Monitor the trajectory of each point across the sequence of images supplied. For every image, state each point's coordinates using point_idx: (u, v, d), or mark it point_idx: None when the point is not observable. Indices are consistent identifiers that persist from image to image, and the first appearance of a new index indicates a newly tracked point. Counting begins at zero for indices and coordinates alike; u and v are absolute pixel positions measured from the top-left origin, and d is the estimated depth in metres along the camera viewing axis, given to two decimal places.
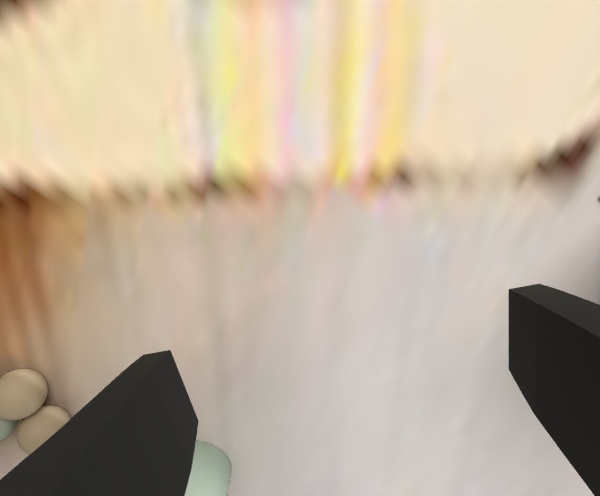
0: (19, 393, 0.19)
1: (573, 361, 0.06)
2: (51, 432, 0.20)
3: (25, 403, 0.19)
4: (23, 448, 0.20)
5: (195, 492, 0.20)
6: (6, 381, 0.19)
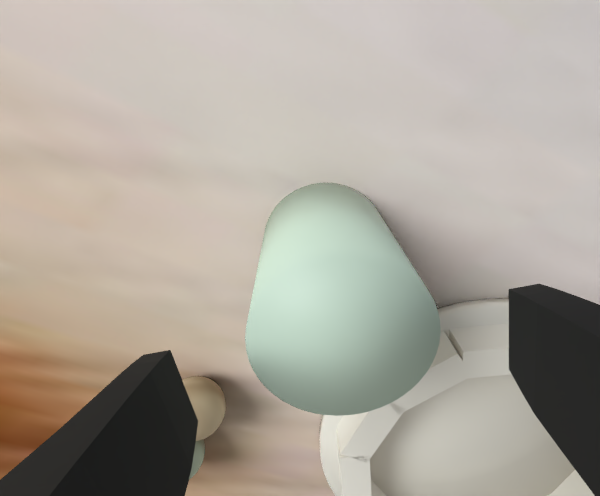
0: None
1: (573, 360, 0.06)
2: None
3: None
4: None
5: (266, 245, 0.11)
6: None
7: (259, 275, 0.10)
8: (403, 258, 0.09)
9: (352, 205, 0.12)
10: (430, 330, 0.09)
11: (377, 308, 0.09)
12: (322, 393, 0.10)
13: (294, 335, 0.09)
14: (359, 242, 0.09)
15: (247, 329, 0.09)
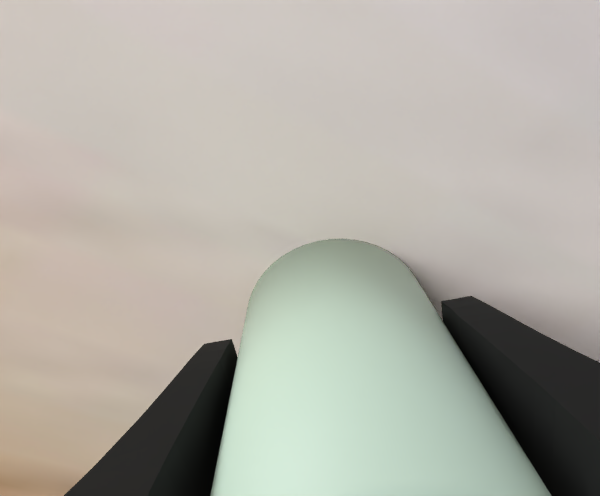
0: None
1: (487, 375, 0.06)
2: None
3: None
4: None
5: (242, 367, 0.07)
6: None
7: (223, 456, 0.05)
8: (512, 449, 0.04)
9: (388, 294, 0.07)
10: None
11: None
12: None
13: None
14: (428, 435, 0.04)
15: None
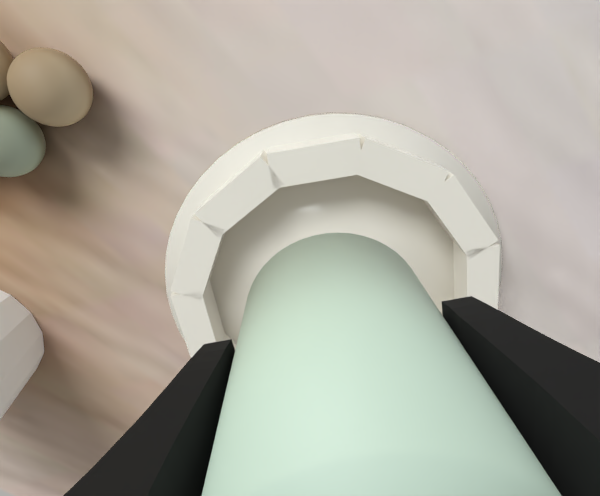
0: None
1: (487, 375, 0.06)
2: (30, 54, 0.12)
3: None
4: (27, 102, 0.12)
5: (239, 355, 0.07)
6: None
7: (219, 439, 0.05)
8: (505, 425, 0.05)
9: (384, 282, 0.07)
10: None
11: None
12: None
13: None
14: (420, 408, 0.04)
15: None
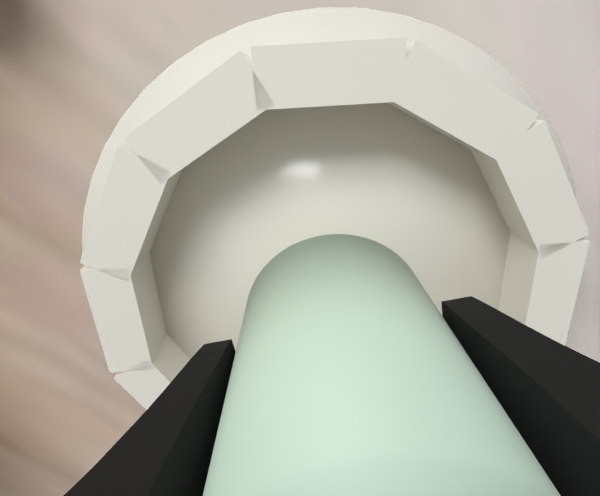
0: None
1: (487, 374, 0.06)
2: None
3: None
4: None
5: (239, 356, 0.07)
6: None
7: (219, 440, 0.05)
8: (506, 427, 0.05)
9: (384, 283, 0.07)
10: None
11: None
12: None
13: None
14: (420, 410, 0.04)
15: None
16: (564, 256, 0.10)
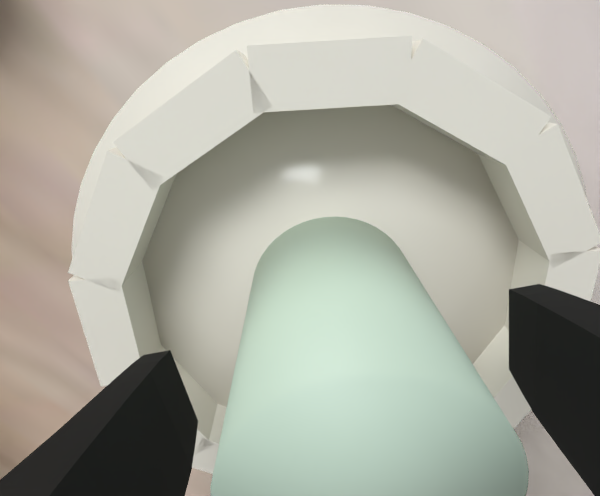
0: None
1: (573, 360, 0.06)
2: None
3: None
4: None
5: (250, 319, 0.08)
6: None
7: (236, 380, 0.06)
8: (464, 363, 0.06)
9: (372, 257, 0.08)
10: (511, 484, 0.06)
11: (426, 454, 0.05)
12: None
13: (289, 494, 0.06)
14: (394, 347, 0.05)
15: (213, 488, 0.05)
16: (576, 265, 0.09)
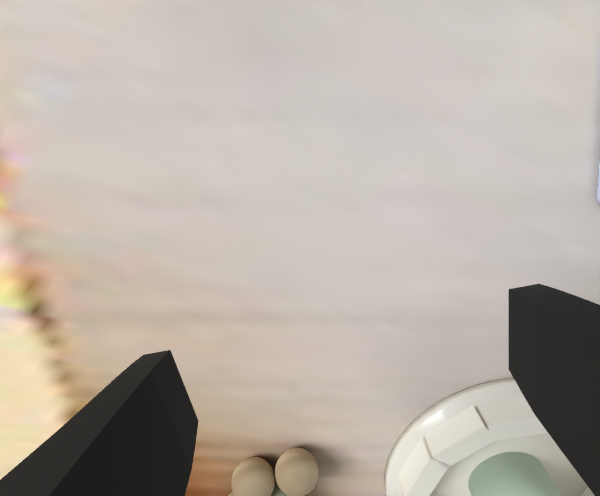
0: (238, 485, 0.21)
1: (573, 360, 0.06)
2: (286, 472, 0.21)
3: (249, 484, 0.21)
4: None
5: None
6: (232, 488, 0.22)
7: None
8: None
9: (520, 494, 0.20)
10: None
11: None
12: None
13: None
14: None
15: None
16: None
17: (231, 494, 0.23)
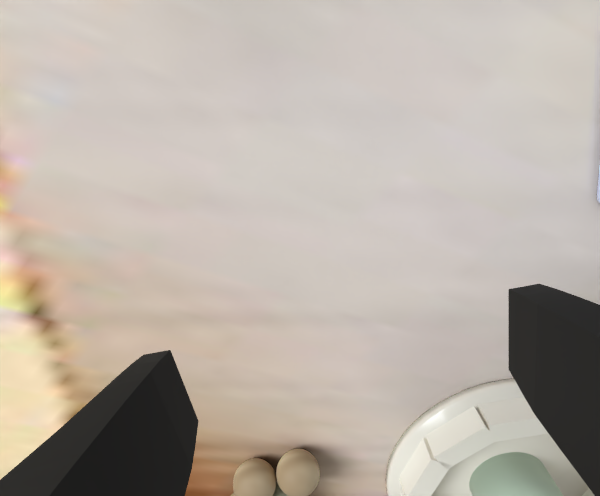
0: (240, 486, 0.21)
1: (572, 360, 0.06)
2: (287, 473, 0.21)
3: (250, 485, 0.21)
4: None
5: None
6: (234, 489, 0.22)
7: None
8: None
9: (521, 495, 0.20)
10: None
11: None
12: None
13: None
14: None
15: None
16: None
17: (232, 495, 0.23)
